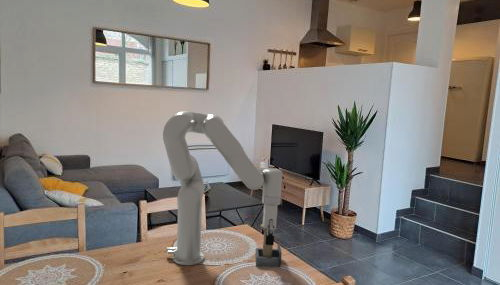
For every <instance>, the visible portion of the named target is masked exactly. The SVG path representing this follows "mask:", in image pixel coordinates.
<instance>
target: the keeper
mask: <svg viewBox="0 0 500 285" xmlns="http://www.w3.org/2000/svg"><path fill="white" fill-rule="evenodd" d="M276 244H277V247H276V248H273V250H272V257H263V247H262V248H261V247H259V248H258V247H256V248H255V254H254V255H255V257H254V258H255V260H254V261H255V267H270V268H271V267H272V268H281V267H282V249H281V243H276Z"/></svg>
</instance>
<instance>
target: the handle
mask: <svg viewBox="0 0 500 285" xmlns="http://www.w3.org/2000/svg"><path fill="white" fill-rule="evenodd" d="M260 230H262V231H263V241H262V249H263V257H272V250H273V249H274V248H273V246H274V245H266V235H267V228H265V229H264V228H263V223H261V224H260ZM276 230H277V227H276V228H275V229H274V231H276ZM268 231H269V230H268Z"/></svg>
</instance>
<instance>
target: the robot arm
mask: <svg viewBox="0 0 500 285" xmlns="http://www.w3.org/2000/svg"><path fill="white" fill-rule="evenodd" d="M162 131H163V132H162V140H163V144H164V148H165V152H166V154H167V158H168V162H169V165H170V169H171V172H172V175H173V178H175V180H177V181H179V184H180V188H179V190H178V193H177V198H176V202H177V203H176V204H177V234H176V235H177V236H176V238H177V239H176V246H173V247H171V246H169V247H168V246H166V250H165V252H166V253H167V255H172V261H173V262H174V263H176V264H178V265H180V266H182V265H183V266H194V265H198V264H201V263H202V262H203V261H204V259H205V254H204V253H203V252H202V251H201V246H202V217H203V215H202V214H203V212H202V211H203V210H202V209H203V208H202V207H203V206H202V205H203V196H204V193H205V183H204V180H203V176H202V173H201V171H200V170H201V169H200V167H199V164H198V161H197V159H196V157H195V156H193V155H192V154H191V153H190V151H189V150H190V149H189V145H188V143H187V142H188V141H187V140H186V134H188V133H195V134H202V135H205V137H206V138H207V139H208V140H209V141H210V142H211V143H212V145H213V146H214V147H215V149H217V151H218V152H219V153H220V155H221V156H222V157H223V158H224V160H225V161H226V163H227V164H228V165H229V166H230V168H231V169H232V171H233V172H234V174H235V175H236V176H237V177H238V178H239V179H240V181H241V182H242V183H243V184H244V185H245V186H246V188H248V189H249V190H251V191H256V190H257V191H258V190H259V189H261V188H262V195H261V196H262V197H261V203H262V204H263V213H262V214H263V215H262V224H263V228H264V229H265V228H267V235H266V245H273V246H274V244H275V230H274V229H275V228H276V229H277V218H278V206H279V205H281V200H282V183H283V171H282V170H281V169H278V168H273V167H272V168H271V167H270V168H266V167H259V166H255V164H254V163H253V162H252V160H251V159H250V158H249V157H248V155H247V153H246V151H245V150H244V147H243V145H242V144H241V143H240V141H239V140H238V139H237V138H236V137H235V135H234V134H233V133H232V132H231V131H230V129H229V128H228V127H227V126H226V124H225V123H224V120H223V118H221V117H220V116H219V115H218V114H216V115H215V114H209V113H208V114H207V113H203V112H202V113H201V112H196V111H190V110H187V111H185V110H184V111H179V112H176V113H175V114H173V115H172V116H171V117H170V118H169V119H168V120H167V121H166V122H165V125H164V127H163V130H162ZM268 230H269V231H268Z"/></svg>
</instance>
